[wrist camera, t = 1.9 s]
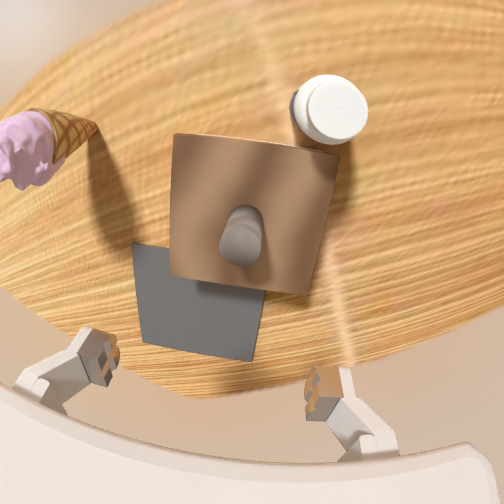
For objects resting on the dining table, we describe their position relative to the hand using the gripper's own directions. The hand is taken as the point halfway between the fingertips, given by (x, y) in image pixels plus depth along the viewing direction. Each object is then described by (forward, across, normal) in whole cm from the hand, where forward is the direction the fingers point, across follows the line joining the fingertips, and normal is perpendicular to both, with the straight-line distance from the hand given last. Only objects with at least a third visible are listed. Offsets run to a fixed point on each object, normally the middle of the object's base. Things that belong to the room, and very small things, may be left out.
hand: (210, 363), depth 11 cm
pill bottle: (+21, -5, -10) cm, 24 cm away
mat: (+21, +5, +15) cm, 26 cm away
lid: (+16, 0, 0) cm, 16 cm away
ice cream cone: (+22, +18, -6) cm, 28 cm away
